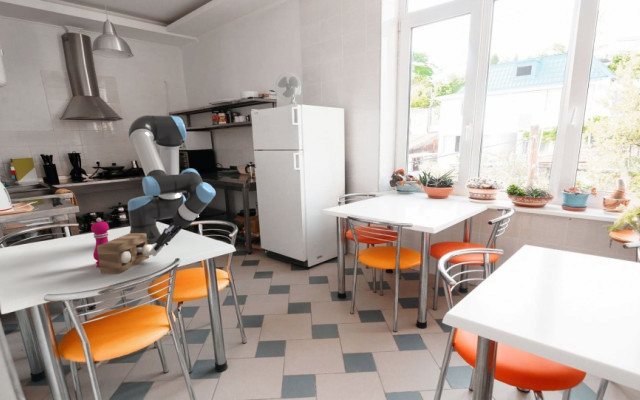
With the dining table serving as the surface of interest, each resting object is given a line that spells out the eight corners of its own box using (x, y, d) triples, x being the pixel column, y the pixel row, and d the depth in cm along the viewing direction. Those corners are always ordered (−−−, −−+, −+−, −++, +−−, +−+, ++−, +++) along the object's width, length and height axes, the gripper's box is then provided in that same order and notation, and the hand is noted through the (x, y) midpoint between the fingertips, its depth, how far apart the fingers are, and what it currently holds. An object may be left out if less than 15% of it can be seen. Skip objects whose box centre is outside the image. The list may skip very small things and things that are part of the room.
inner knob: (136, 253, 140) (134, 243, 139) (153, 253, 139) (152, 243, 138) (128, 256, 135) (127, 246, 135) (147, 257, 134) (145, 246, 134)
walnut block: (132, 257, 143) (129, 233, 141) (149, 257, 142) (146, 233, 140) (100, 273, 125) (96, 246, 123) (119, 273, 124) (116, 246, 122)
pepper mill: (119, 261, 138) (113, 215, 134) (107, 268, 131) (100, 219, 127) (104, 261, 139) (97, 216, 135) (90, 267, 131) (83, 220, 128)
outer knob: (112, 260, 131) (111, 249, 131) (131, 260, 130) (130, 249, 130) (104, 264, 127) (102, 253, 126) (123, 264, 126) (122, 253, 125)
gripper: (184, 225, 125) (149, 265, 130) (200, 217, 138) (167, 254, 142) (170, 211, 125) (135, 252, 129) (187, 205, 138) (155, 243, 142)
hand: (152, 253), depth 136 cm, fingers closed
